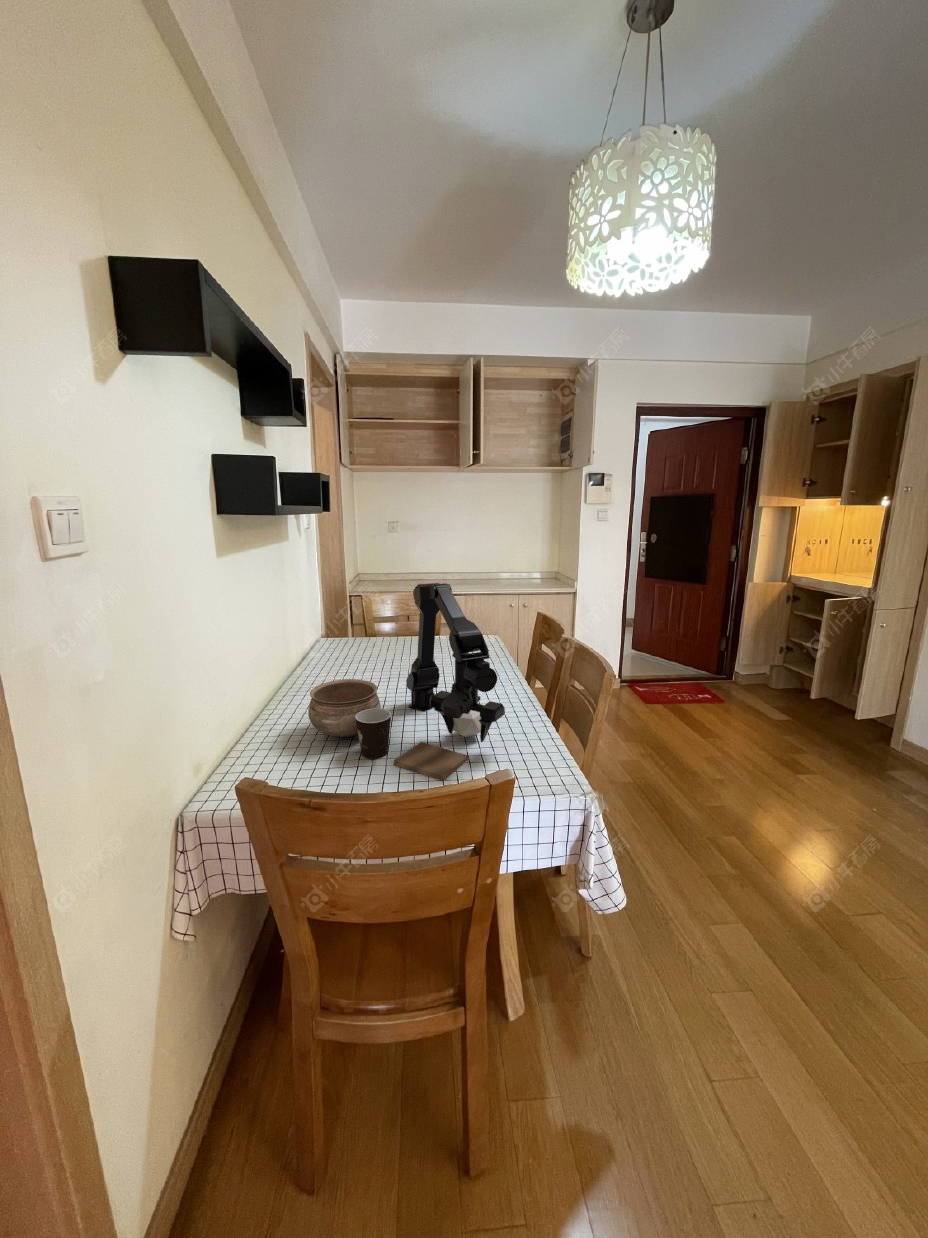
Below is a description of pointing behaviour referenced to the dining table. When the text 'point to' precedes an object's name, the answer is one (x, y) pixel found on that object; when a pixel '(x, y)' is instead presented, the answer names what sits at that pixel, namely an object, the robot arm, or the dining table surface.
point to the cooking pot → (341, 705)
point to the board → (431, 761)
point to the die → (468, 724)
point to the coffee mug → (373, 732)
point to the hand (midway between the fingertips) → (466, 737)
